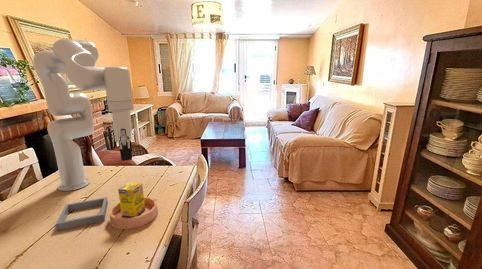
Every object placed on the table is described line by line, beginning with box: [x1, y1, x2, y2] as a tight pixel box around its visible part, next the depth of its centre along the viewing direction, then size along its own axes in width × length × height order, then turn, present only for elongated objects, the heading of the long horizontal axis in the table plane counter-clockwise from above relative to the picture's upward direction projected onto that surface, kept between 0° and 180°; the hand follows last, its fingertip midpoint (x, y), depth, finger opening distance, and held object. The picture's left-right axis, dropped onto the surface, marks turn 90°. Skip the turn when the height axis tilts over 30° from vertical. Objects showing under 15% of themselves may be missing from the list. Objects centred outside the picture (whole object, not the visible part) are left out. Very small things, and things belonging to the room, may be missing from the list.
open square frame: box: [55, 196, 109, 232], centre depth 91 cm, size 14×14×2 cm
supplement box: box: [117, 181, 145, 218], centre depth 89 cm, size 6×6×11 cm
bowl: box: [108, 196, 159, 230], centre depth 90 cm, size 16×16×4 cm
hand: (127, 155), depth 85 cm, fingers open, 9 cm apart
